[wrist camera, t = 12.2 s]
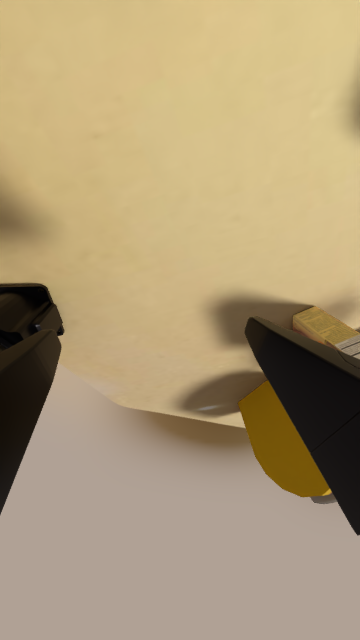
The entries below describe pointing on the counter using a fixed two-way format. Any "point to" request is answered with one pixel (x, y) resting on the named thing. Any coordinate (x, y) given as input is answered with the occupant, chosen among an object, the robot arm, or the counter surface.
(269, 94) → the counter surface
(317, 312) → the candy box
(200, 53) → the counter surface
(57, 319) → the robot arm
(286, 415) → the alarm clock
